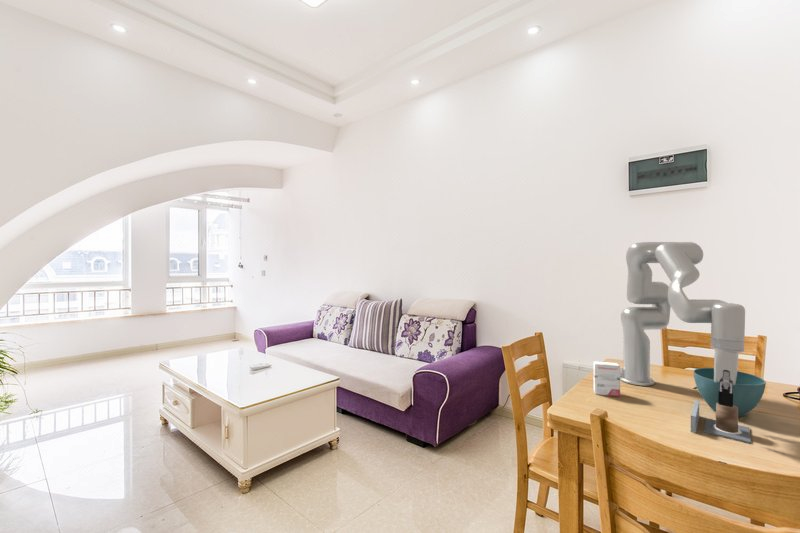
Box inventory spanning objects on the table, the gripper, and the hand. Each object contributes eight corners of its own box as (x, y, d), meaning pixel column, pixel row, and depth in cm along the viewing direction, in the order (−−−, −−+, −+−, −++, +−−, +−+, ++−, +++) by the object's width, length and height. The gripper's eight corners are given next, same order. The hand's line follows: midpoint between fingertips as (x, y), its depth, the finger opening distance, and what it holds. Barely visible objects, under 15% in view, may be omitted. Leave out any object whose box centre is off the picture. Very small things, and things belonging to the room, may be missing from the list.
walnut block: (715, 429, 110) (715, 406, 110) (716, 423, 114) (716, 401, 114) (738, 434, 107) (738, 410, 107) (738, 428, 111) (738, 405, 111)
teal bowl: (773, 428, 112) (774, 388, 112) (697, 415, 122) (697, 378, 121) (756, 407, 127) (756, 372, 127) (689, 397, 137) (689, 365, 137)
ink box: (617, 392, 143) (617, 362, 143) (620, 397, 138) (620, 365, 138) (592, 390, 146) (592, 360, 146) (595, 394, 141) (595, 363, 141)
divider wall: (690, 431, 110) (690, 415, 110) (694, 415, 122) (694, 400, 122) (695, 433, 109) (695, 416, 109) (699, 416, 121) (699, 400, 121)
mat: (704, 432, 109) (704, 430, 109) (706, 419, 118) (706, 417, 118) (750, 443, 103) (750, 441, 103) (749, 429, 112) (749, 427, 112)
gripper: (711, 337, 119) (710, 389, 120) (709, 348, 106) (708, 406, 107) (743, 341, 114) (742, 395, 115) (745, 352, 101) (743, 413, 102)
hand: (725, 400), depth 111 cm, fingers open, 9 cm apart
